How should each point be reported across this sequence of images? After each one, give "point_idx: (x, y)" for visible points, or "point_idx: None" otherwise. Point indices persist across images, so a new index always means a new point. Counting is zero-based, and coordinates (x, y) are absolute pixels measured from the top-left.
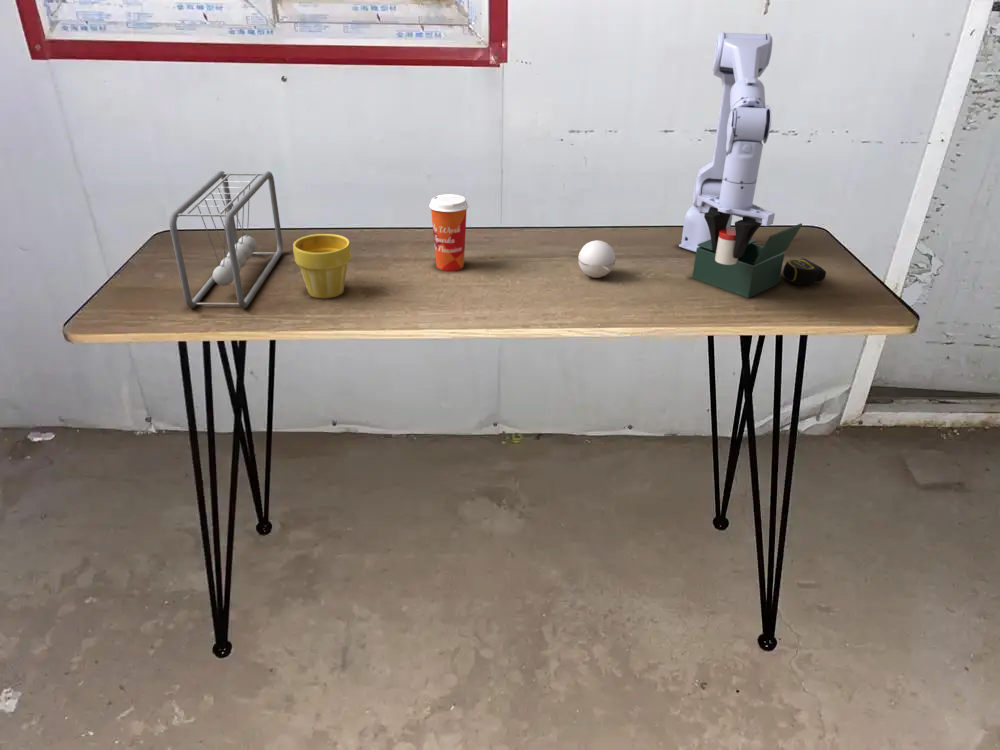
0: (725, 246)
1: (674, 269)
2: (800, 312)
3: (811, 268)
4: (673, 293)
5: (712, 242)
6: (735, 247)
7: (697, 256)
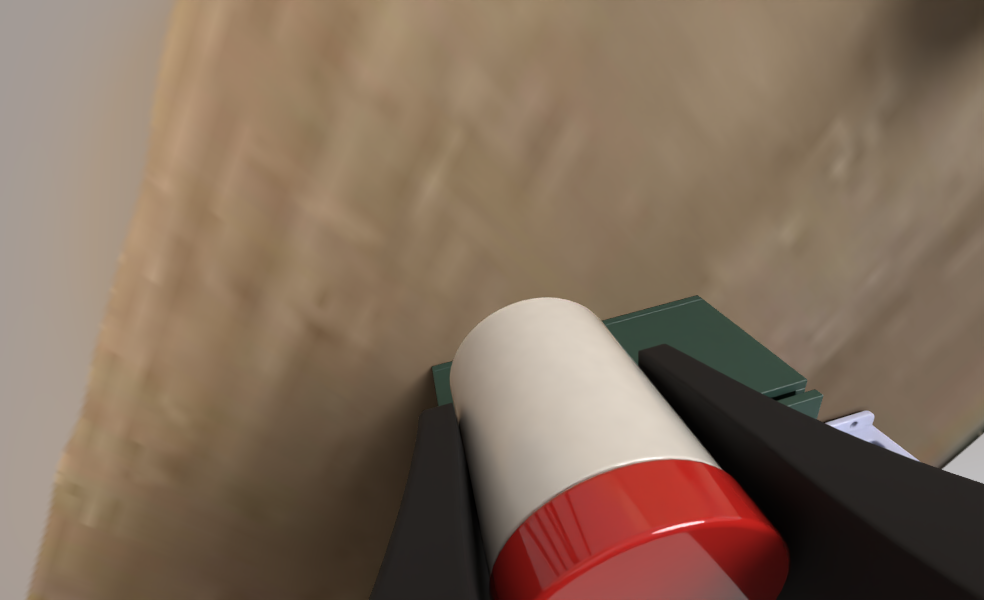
0: (547, 418)
1: (791, 286)
2: (226, 459)
3: None
4: (658, 100)
5: (718, 380)
6: (442, 481)
7: (761, 355)
